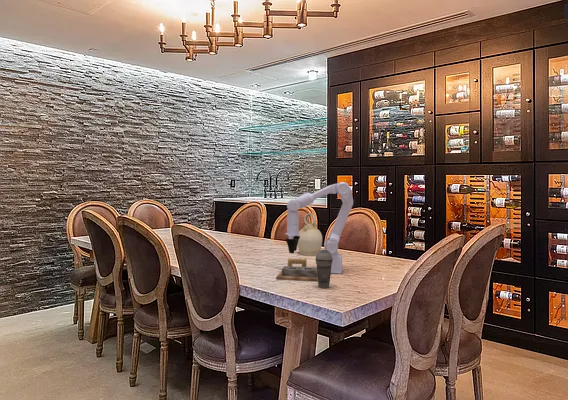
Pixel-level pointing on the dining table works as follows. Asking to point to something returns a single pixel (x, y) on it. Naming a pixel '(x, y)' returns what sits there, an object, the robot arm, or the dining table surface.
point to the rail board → (298, 273)
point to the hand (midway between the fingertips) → (292, 251)
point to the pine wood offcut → (297, 262)
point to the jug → (309, 238)
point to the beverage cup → (324, 267)
